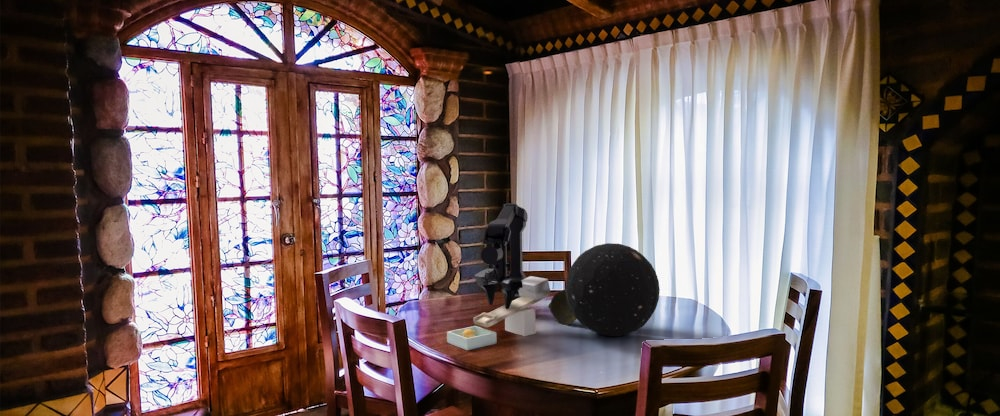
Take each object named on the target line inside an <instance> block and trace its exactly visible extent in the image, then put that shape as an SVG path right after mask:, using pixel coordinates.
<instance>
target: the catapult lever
mask: <svg viewBox="0 0 1000 416" xmlns="http://www.w3.org/2000/svg"><path fill="white" fill-rule="evenodd" d="M526 277H527V276H526ZM521 281H522V285H523V287H522V288H520V290H518V291H519V296H521V297H519V298H517V299H515V300H513V301H512V302H511V305H510V307H509V309H506V308H505V304H504V305H502V306H499V307H497V308H495V309H494V310H492V311H490V312H484V311H483V312H481V314H478V315H476V316H474V317H473V318H472V320H473V323H474V325H476V326H479V327H482V328H483V327H484V328H485V329H487V328H490V327H491V326H493V325H495V324H497V323H499V322H501V321H503V320H505V318H507V317H509V316H511V315H513V314H515V313H517V312H519V311H521V310H523V309H525V308H526V307H527V308H529V307H531V306H532V305H534V304H536V303H538V302H540V301H543V299H546V298H548V297H550V296H551V288H550V283H549V279H548V278H544V277H537V276H534V275H533V276H532V275H530V276H528V277H527V278H525V279H523V280H521Z"/></svg>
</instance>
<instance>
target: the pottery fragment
mask: <svg viewBox="0 0 1000 416" xmlns="http://www.w3.org/2000/svg"><path fill="white" fill-rule="evenodd" d="M547 308H548V309H549V311H550V314H552V316H553V318H554V319H555V321H556V322H558V324H563V325H572V324H574V322H575V321H576V320H577V318H576V317H575V316H574V314H573V313H572V311H571V309H570V308H569V305H568V301H567V297H566V288H565V289H563V290H561V291H558V292H557V293H555V294H554V295H553V297H552V298H551V300H550V302H549V304H548V306H547Z"/></svg>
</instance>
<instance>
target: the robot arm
mask: <svg viewBox="0 0 1000 416" xmlns="http://www.w3.org/2000/svg"><path fill="white" fill-rule="evenodd" d="M528 219H529V218H528V213H527V211H526V209H525V208H523V207H520V206H519V205H518V204H517V203H505V204H504V203H503V205H502V209H501V211H500V213H499V215H498V216H497V218H496V219H494V220H491V221H490V222H489V223H488V224H487V226H486V227H485V231H484V235H483V241H482V244H483V245H486V246H485V247H484V248H483V249H482V250H481V252H480V258H481V260H482V262H483V263H485V264H486V267H485V269H483V270H481V271H479V272H477V273H475V274H474V277H475V283H476V284H477V285H478V287H481V288H482V289H483V291H484V293H485V295H486V299H487V302H488V305H489V306H493V304H494V300H495V294H496V289H497V285H501V289H500V291H501V292H502V293H503V296H504V305H505V308H506V309H509V307H510V305H511V302H512V301H513V300H515V299H517V298H519V297H521V296H519V291H518V290H520V288H522V287H523V285H522V281H521V280H523V279H525V278H527V275H526V274H525V272H524V270H523V231H524V230H525V228H526V227H527V222H528ZM508 243H509V249H510V250H509V253H510V255H509V258H510V263H509V262H508V259H507V256H508V254H507V249H508V248H507V245H508ZM508 267H510V268H509V269H510V270H509V271H510V272H509V274H508ZM526 308H528V307H526Z"/></svg>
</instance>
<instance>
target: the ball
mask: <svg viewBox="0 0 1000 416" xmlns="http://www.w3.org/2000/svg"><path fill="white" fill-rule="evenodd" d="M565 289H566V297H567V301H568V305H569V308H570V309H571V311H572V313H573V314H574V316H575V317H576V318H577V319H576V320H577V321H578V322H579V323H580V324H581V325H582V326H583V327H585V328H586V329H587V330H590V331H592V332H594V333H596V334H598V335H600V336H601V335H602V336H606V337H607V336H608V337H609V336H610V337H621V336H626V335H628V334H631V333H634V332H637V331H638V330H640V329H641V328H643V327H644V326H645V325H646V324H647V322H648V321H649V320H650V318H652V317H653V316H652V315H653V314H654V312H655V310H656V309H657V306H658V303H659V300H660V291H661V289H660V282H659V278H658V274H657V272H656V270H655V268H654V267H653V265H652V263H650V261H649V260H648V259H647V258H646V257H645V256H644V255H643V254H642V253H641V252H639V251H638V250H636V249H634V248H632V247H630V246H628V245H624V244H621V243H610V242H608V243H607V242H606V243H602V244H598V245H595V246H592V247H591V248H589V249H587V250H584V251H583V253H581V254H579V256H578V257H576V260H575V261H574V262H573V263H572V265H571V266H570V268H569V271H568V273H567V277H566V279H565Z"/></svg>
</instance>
